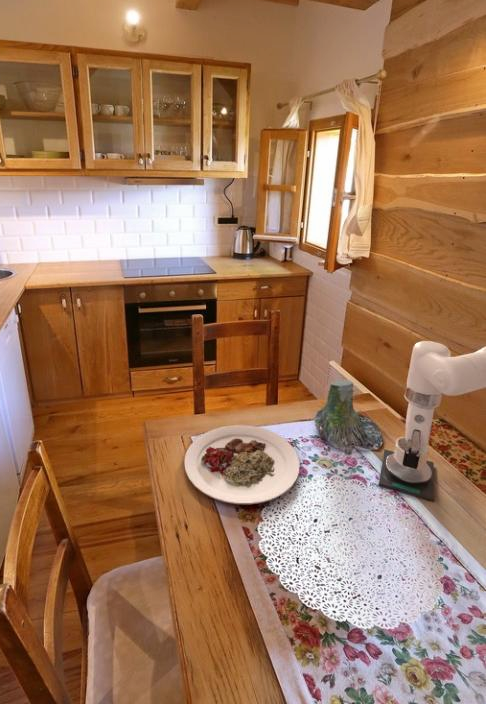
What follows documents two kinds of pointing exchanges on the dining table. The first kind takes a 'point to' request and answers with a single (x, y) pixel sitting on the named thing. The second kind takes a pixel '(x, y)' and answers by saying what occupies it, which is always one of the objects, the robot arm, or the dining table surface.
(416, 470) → the scale pan
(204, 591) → the dining table surface
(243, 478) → the plated food
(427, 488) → the scale
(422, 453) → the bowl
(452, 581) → the dining table surface
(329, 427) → the tree stump
